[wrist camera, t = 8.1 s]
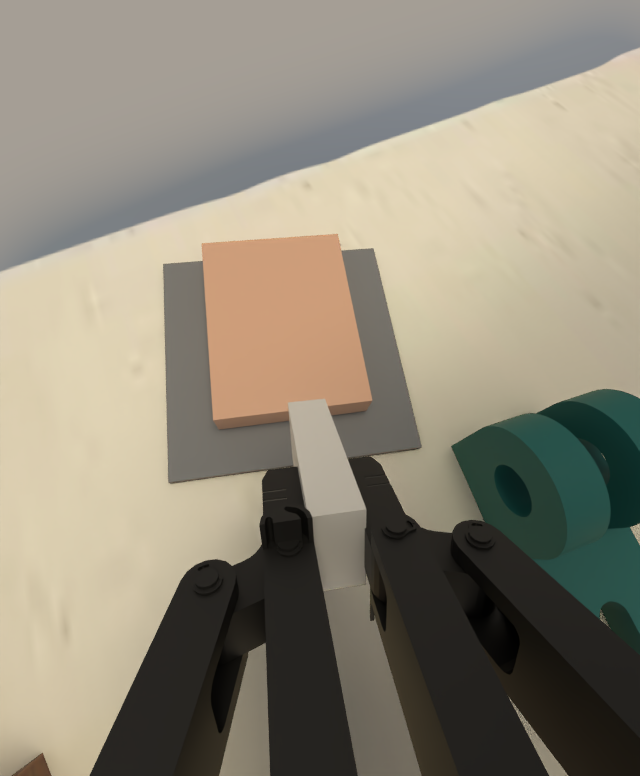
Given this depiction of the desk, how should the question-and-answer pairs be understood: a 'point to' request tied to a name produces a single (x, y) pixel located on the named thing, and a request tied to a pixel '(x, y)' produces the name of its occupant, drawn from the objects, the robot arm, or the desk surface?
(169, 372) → the mat
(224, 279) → the tile
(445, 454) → the desk surface
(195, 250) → the desk surface
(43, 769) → the tissue box cover
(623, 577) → the bracket
